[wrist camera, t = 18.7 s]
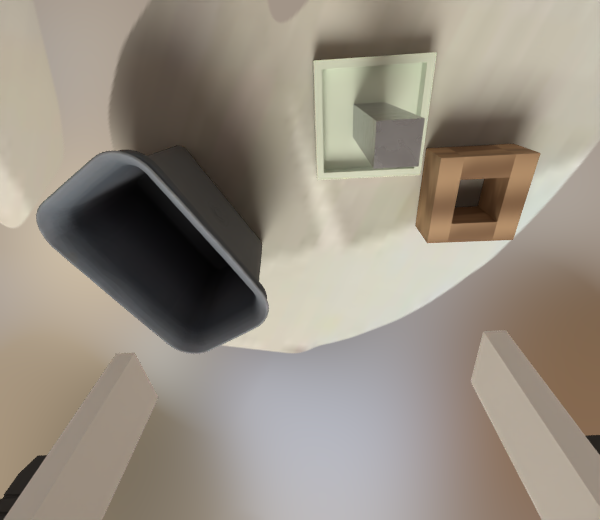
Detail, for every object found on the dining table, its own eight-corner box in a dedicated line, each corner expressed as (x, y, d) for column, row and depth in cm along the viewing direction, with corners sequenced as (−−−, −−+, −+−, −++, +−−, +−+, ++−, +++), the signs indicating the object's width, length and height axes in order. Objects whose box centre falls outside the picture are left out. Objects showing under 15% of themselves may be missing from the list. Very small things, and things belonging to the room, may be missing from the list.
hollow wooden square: (426, 148, 37) (441, 158, 33) (513, 143, 37) (540, 153, 33) (415, 225, 43) (427, 243, 38) (492, 222, 42) (512, 239, 38)
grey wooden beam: (352, 136, 36) (373, 168, 24) (353, 104, 35) (376, 120, 23) (382, 135, 36) (418, 166, 24) (384, 102, 35) (424, 118, 23)
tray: (313, 61, 33) (313, 60, 31) (429, 53, 33) (436, 52, 31) (316, 174, 39) (317, 180, 38) (414, 170, 39) (420, 175, 37)
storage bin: (290, 249, 45) (282, 316, 33) (208, 296, 50) (175, 370, 37) (184, 112, 36) (120, 133, 24) (97, 185, 41) (6, 233, 29)
